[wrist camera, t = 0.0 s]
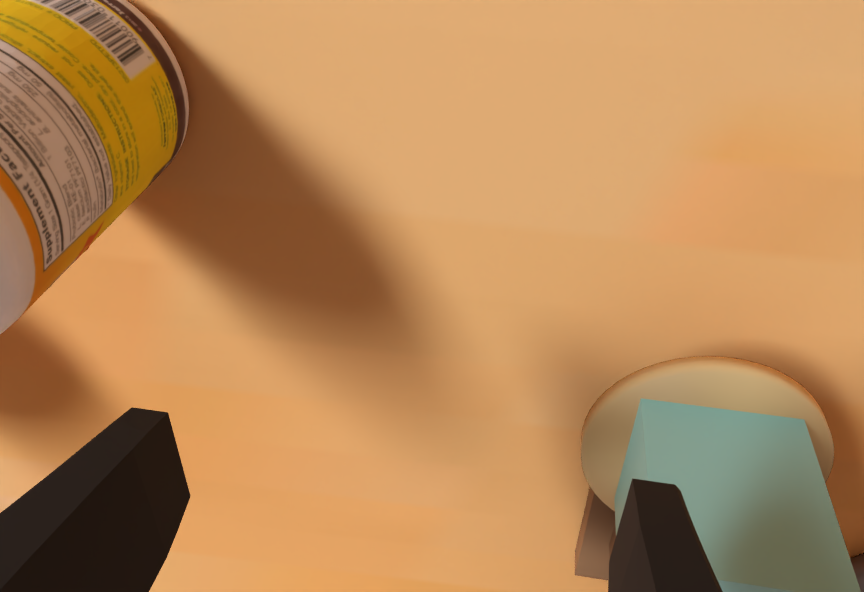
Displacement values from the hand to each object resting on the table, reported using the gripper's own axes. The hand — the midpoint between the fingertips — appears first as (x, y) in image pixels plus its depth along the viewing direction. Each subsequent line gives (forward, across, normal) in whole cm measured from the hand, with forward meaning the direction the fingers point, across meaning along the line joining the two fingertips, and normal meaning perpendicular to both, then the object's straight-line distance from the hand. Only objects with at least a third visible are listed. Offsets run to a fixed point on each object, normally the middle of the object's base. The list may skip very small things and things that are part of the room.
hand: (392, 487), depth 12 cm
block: (+7, -7, +6) cm, 12 cm away
